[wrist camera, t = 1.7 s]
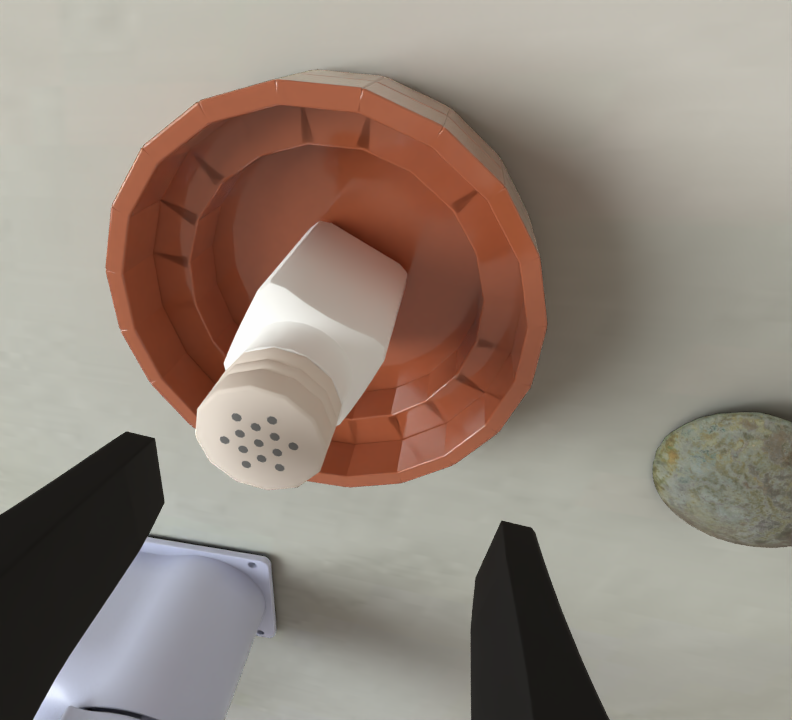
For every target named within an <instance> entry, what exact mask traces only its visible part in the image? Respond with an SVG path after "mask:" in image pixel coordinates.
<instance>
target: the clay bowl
mask: <svg viewBox="0 0 792 720" xmlns="http://www.w3.org/2000/svg"><path fill="white" fill-rule="evenodd" d="M319 221H324V222H328V223H332V224H334V225H336V226H337V227H339V228H341V229H342V230H344V231H346V232H347V233H349V234H351V235H352V236H354V237H356V238H357V239H359V240H361V241H362V242H364V243H366V244H367V245H369V246H371V247H372V248H374V249H376V250H377V251H379V252H381V253H382V254H384V255H386V256H387V257H389V258H391V259H392V260H394V261H396V262H397V263H399V264H400V265H401V266H402V267H403V268H404V270H405V271H406V272H407V280H406V286H405V289H404V293H403V296H402V300H401V303H400V307H399V310H398V314H397V317H396V321H395V325H394V328H393V332H392V335H391V339H390V342H389V346H388V349H387V353H386V356H385V360H384V362H383V363H382V365H381V367H380V368H379V370H378V371H377V373H376V375H375V376H374V378H373V379H372V381H371V382H370V384H369V385H368V387H367V388H366V390H365V391H364V393H363V394H362V396H361V397H360V399H359V400H358V401H357V403H356V404H355V406H354V407H353V408H352V410H351V411H350V412H349V414H348V415H347V416H346V417H345V419H344V420H343V421H342V422H341V424H340V425H337V426H336V428H335V431H334V434H333V437H332V439H331V442H330V445H329V448H328V450H327V453H326V456H325V459H324V462H323V465H322V467H321V470H320V472H319V473H317V474H316V475H314V476H313V477H311V478H310V479H309V480H307V481H310V482H316V483H323V484H329V485H336V486H342V487H361V486H374V485H386V484H399V483H402V482H407V481H410V480H413V479H415V478H418V477H421V476H424V475H427V474H430V473H433V472H436V471H438V470H441V469H444V468H447V467H450V466H452V465H453V464H456V463H457V462H459V461H460V460H462V459H463V458H464V457H466V456H467V455H468V454H470V453H471V452H473V451H474V450H475V449H477V448H478V447H480V446H481V445H482V444H484V443H485V442H486V441H488V440H489V439H491V438H492V437H493V436H495V435H496V434H497V433H498V432H499V431H500V430H501V429H502V427H503V426H504V424H505V423H506V421H507V420H508V419H509V417H510V416H511V414H512V413H513V412H514V410H515V409H516V407H517V406H518V405H519V403H520V402H521V400H522V399H523V397H524V396H525V395H526V393H527V392H528V390H529V389H530V388H531V385H532V383H533V379H534V375H535V372H536V368H537V364H538V360H539V357H540V353H541V349H542V345H543V342H544V338H545V334H546V330H547V325H548V323H547V314H546V304H545V295H544V285H543V276H542V266H541V258H540V254H539V251H538V247H537V243H536V239H535V236H534V232H533V228H532V225H531V221H530V218H529V215H528V213H527V211H526V208H525V206H524V204H523V202H522V200H521V198H520V196H519V194H518V192H517V190H516V188H515V186H514V184H513V182H512V180H511V178H510V175H509V173H508V171H507V169H506V167H505V165H504V163H503V161H502V160H501V159H500V156H499V155H498V154H497V153H496V152H495V151H494V150H493V149H492V148H491V147H490V146H489V145H488V144H487V143H486V142H485V141H484V140H483V139H482V138H481V137H480V136H479V135H478V134H477V133H476V132H475V131H474V130H473V129H472V128H471V127H470V126H469V125H468V124H467V123H466V122H465V121H464V120H463V119H462V118H461V117H460V116H459V115H458V114H457V113H456V112H455V111H454V110H453V109H451V108H450V109H449V107H448V106H447V105H444V104H442V103H440V102H438V101H436V100H434V99H432V98H430V97H428V96H426V95H424V94H422V93H419V92H417V91H415V90H413V89H411V88H409V87H407V86H405V85H403V84H401V83H399V82H396V81H394V80H392V79H390V78H388V77H385V78H384V76H380V75H369V74H359V73H349V72H339V71H328V70H318V69H317V70H309V71H305V72H301V73H297V74H293V75H289V76H285V77H281V78H277V79H273V80H269V81H266V82H262V83H259V84H255V85H252V86H248V87H245V88H241V89H238V90H234V91H230V92H227V93H223V94H220V95H216V96H213V97H209V98H206V99H202V100H200V101H199V102H196V103H195V104H194V105H192V106H191V107H190V108H189V109H187V110H186V111H185V112H184V113H183V114H181V115H180V116H179V117H178V118H176V119H175V120H174V121H173V122H171V123H170V124H169V125H168V126H167V127H165V128H164V129H163V130H162V131H160V132H159V133H158V134H157V135H155V136H154V137H153V138H152V139H150V140H149V141H148V142H147V143H146V144H144V146H143V147H142V148H141V149H140V151H139V153H138V155H137V157H136V159H135V161H134V163H133V165H132V167H131V169H130V171H129V173H128V175H127V177H126V179H125V180H124V182H123V184H122V186H121V188H120V190H119V192H118V194H117V196H116V198H115V200H114V202H113V204H112V208H111V215H110V225H109V236H108V247H107V257H106V275H107V279H108V283H109V287H110V291H111V295H112V299H113V304H114V308H115V312H116V316H117V320H118V324H119V328H120V329H121V333H122V335H123V336H124V338H125V340H126V342H127V343H128V345H129V347H130V349H131V350H132V352H133V354H134V356H135V357H136V359H137V361H138V363H139V364H140V366H141V368H142V370H143V371H144V373H145V375H146V377H147V378H148V380H149V382H151V385H152V386H153V387H154V388H155V389H156V390H157V391H158V392H159V393H160V394H161V395H162V396H163V397H164V398H165V399H166V400H167V401H168V402H169V403H170V404H171V405H172V407H173V408H174V409H175V410H176V411H177V412H178V413H179V414H180V415H181V416H182V417H183V418H184V419H185V420H186V421H187V422H188V423H189V424H190V425H192V427H194V428H195V429H196V419H197V409H198V407H199V406H200V405H201V403H202V402H203V400H204V399H205V398H206V396H207V395H208V394H209V392H210V391H211V390H212V388H213V387H214V386H215V384H216V383H217V382H218V381H219V379H220V378H221V376H222V375H223V373H224V372H225V367H224V361H225V359H226V356H227V354H228V351H229V349H230V346H231V344H232V342H233V340H234V337H235V335H236V333H237V331H238V329H239V327H240V324H241V322H242V320H243V318H244V316H245V314H246V312H247V310H248V308H249V306H250V304H251V302H252V300H253V298H254V296H255V294H256V293H257V291H258V289H259V288H260V287H261V286H262V284H263V283H264V282H265V281H266V280H267V278H268V277H269V276H270V275H271V274H272V273H273V271H274V270H275V269H276V268H277V267H278V265H279V264H280V263H281V262H282V261H283V260H284V258H285V257H286V256H287V255H288V254H289V252H290V251H291V250H292V249H293V248H294V247H295V245H296V244H297V243H298V242H299V241H300V239H301V238H302V237H303V236H304V235H305V234H306V232H307V231H308V230H309V229H310V228H311V227H312V226H313V225H315V224H316V223H317V222H319Z"/></svg>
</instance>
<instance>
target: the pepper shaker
mask: <svg viewBox="0 0 792 720" xmlns="http://www.w3.org/2000/svg"><path fill="white" fill-rule="evenodd" d="M406 280H407V272H406V271H405V270H404V268H403V267H402V266H401V265H400V264H399V263H397V262H396V261H394V260H392V259H391V258H389V257H387V256H386V255H384V254H382V253H381V252H379V251H377V250H376V249H374V248H372V247H371V246H369V245H367V244H366V243H364V242H362V241H361V240H359V239H357V238H356V237H354V236H352V235H351V234H349V233H347V232H346V231H344V230H342V229H341V228H339V227H337V226H336V225H334V224H332V223H328V222H324V221H319V222H317V223H316V224H315V225H313V226H312V227H311V228H310V229H309V230H308V231H307V232H306V234H305V235H304V236H303V237H302V238H301V239H300V241H299V242H298V243H297V244H296V245H295V247H294V248H293V249H292V250H291V251H290V252H289V254H288V255H287V256H286V257H285V258H284V260H283V261H282V262H281V263H280V264H279V265H278V267H277V268H276V269H275V270H274V271H273V273H272V274H271V275H270V276H269V277H268V278H267V280H266V281H265V282H264V283H263V284H262V286H261V287H260V288H259V289H258V291H257V293H256V294H255V296H254V298H253V300H252V302H251V304H250V306H249V308H248V310H247V312H246V314H245V316H244V318H243V320H242V322H241V324H240V327H239V329H238V331H237V333H236V335H235V337H234V340H233V342H232V344H231V346H230V349H229V351H228V354H227V356H226V359H225V361H224V367H225V372H224V373H223V375H222V376H221V378H220V379H219V381H218V382H217V383H216V384H215V386H214V387H213V388H212V390H211V391H210V392H209V394H208V395H207V396H206V398H205V399H204V400H203V402H202V403H201V405H200V406H199V407H198V409H197V419H196V434H195V437H196V438H197V440H198V442H199V444H200V445H201V447H202V449H203V451H204V452H205V454H206V456H207V457H208V459H209V461H210V462H211V463H212V464H214V465H215V466H216V467H218V468H219V469H220V470H222V471H223V472H225V473H226V474H227V475H229V476H230V477H231V478H233V479H234V480H235V481H237V482H241V483H244V484H248V485H251V486H255V487H258V488H262V489H265V490H276V489H286V488H296V487H299V486H300V485H302V484H303V483H304V482H306V481H307V480H309V479H310V478H311V477H313V476H314V475H316V474H317V473H319V472H320V470H321V467H322V465H323V462H324V459H325V456H326V453H327V450H328V448H329V445H330V442H331V439H332V437H333V434H334V431H335V428H336V426H337V425H340V424H341V422H342V421H343V420H344V419H345V417H346V416H347V415H348V414H349V412H350V411H351V410H352V408H353V407H354V406H355V404H356V403H357V401H358V400H359V399H360V397H361V396H362V394H363V393H364V391H365V390H366V388H367V387H368V385H369V384H370V382H371V381H372V379H373V378H374V376H375V375H376V373H377V371H378V370H379V368H380V367H381V365H382V363H383V362H384V360H385V356H386V353H387V349H388V346H389V342H390V339H391V335H392V332H393V328H394V325H395V321H396V317H397V314H398V310H399V307H400V303H401V300H402V296H403V293H404V289H405V286H406Z"/></svg>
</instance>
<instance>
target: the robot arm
mask: <svg viewBox="0 0 792 720" xmlns="http://www.w3.org/2000/svg"><path fill="white" fill-rule="evenodd" d="M164 503H165V502H164V495H163V489H162V482H161V476H160V469H159V462H158V456H157V449H156V442H155V438H152V437H147V436H143V435H139V434H135V433H130V432H125V433H123V434H122V435H120V436H119V437H117V438H115V439H114V440H112V441H111V442H109V443H108V444H106V445H105V446H104V447H102V448H101V449H99V450H98V451H96V452H95V453H93V454H92V455H90V456H89V457H87V458H86V459H84V460H83V461H82V462H80V463H79V464H77V465H76V466H74V467H73V468H71V469H70V470H68V471H67V472H65V473H64V474H62V475H61V476H59V477H58V478H56V479H55V480H53V481H52V482H50V483H49V484H47V485H46V486H44V487H43V488H41V489H40V490H38V491H36V492H35V493H33V494H32V495H30V496H29V497H27V498H26V499H24V500H23V501H21V502H20V503H18V504H17V505H15V506H13V507H12V508H10V509H9V510H7V511H6V512H4V513H2V514H1V515H0V720H225V718H226V715H227V712H228V709H229V707H230V704H231V701H232V699H233V696H234V693H235V690H236V688H237V685H238V682H239V679H240V677H241V674H242V671H243V669H244V666H245V663H246V660H247V658H248V655H249V652H250V649H251V647H252V644H253V641H254V639H255V636H262V637H267V638H272V637H274V636H275V634H276V631H277V628H276V616H275V604H274V593H273V581H272V569H271V562H270V560H269V559H268V558H267V557H264V556H260V555H254V554H248V553H242V552H236V551H230V550H224V549H218V548H212V547H205V546H199V545H193V544H187V543H181V542H175V541H169V540H163V539H157V538H151V537H147V536H148V534H149V533H150V531H151V529H152V527H153V525H154V523H155V521H156V519H157V517H158V515H159V513H160V511H161V509H162V507H163V505H164ZM471 720H609V718H608V716H607V714H606V712H605V709H604V707H603V705H602V703H601V701H600V699H599V697H598V694H597V692H596V690H595V688H594V686H593V684H592V681H591V679H590V677H589V675H588V672H587V670H586V668H585V666H584V663H583V661H582V659H581V656H580V654H579V652H578V649H577V647H576V644H575V642H574V639H573V637H572V634H571V632H570V630H569V627H568V625H567V622H566V620H565V617H564V615H563V612H562V609H561V607H560V604H559V602H558V599H557V596H556V593H555V591H554V588H553V585H552V582H551V580H550V577H549V574H548V571H547V568H546V565H545V562H544V559H543V556H542V553H541V550H540V547H539V544H538V540H537V537H536V534H535V532H534V530H533V529H532V528H531V527H526V526H522V525H518V524H514V523H509V522H505V521H501V523H500V525H499V527H498V530H497V532H496V534H495V536H494V538H493V541H492V543H491V545H490V547H489V549H488V552H487V554H486V556H485V558H484V560H483V563H482V565H481V567H480V569H479V571H478V574H477V576H476V579H475V589H474V598H473V609H472V620H471Z"/></svg>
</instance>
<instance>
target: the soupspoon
mask: <svg viewBox="0 0 792 720" xmlns="http://www.w3.org/2000/svg"><path fill="white" fill-rule="evenodd" d="M653 479H654V484H655V487H656V489H657V491H658V493H659V495H660V496H661V498H662V500H663V501H664V502H665V504H666V505H667V506H668V507H669V508H670V509H671V510H672V511H673V512H674V513H675V514H676V515H678V516H679V517H680V518H681V519H683V520H684V521H685V522H687V523H688V524H689V525H691V526H693V527H695V528H696V529H698V530H700V531H702V532H704V533H706V534H708V535H710V536H713V537H716V538H718V539H722V540H725V541H728V542H732V543H735V544H740V545H746V546H753V547H766V548H767V547H769V548H778V547H787V546H792V422H790V421H787V420H784V419H781V418H779V417H774V416H772V415H770V414H764V413H759V412H753V413H752V412H737V413H731V412H730V413H728V414H726V413H725V414H720V413H719V414H715V415H711V416H705V417H701V418H699V419H696V420H694V421H692V422H689V423H687V424H685V425H683V426H682V427H680V428H678V429H677V430H675V431H673V432H671V433H670V434H669V435H668V436H666V438H665V439H664V440H663V442H662V444H661V445H660V447H658V449H657V451H656V455H655V460H654V462H653Z"/></svg>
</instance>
